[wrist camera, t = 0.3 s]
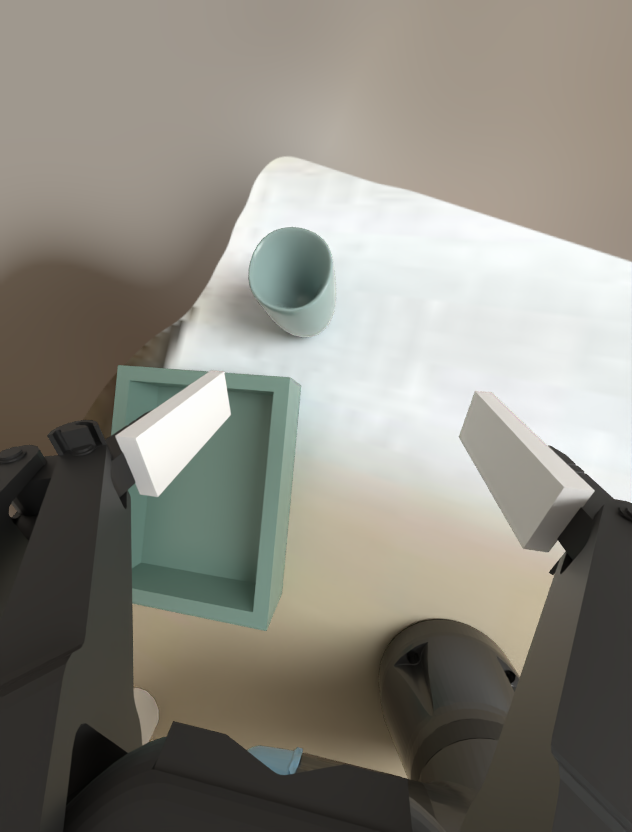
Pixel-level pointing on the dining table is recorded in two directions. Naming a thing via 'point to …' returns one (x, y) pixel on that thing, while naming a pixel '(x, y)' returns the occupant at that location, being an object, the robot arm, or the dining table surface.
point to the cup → (294, 280)
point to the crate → (216, 501)
